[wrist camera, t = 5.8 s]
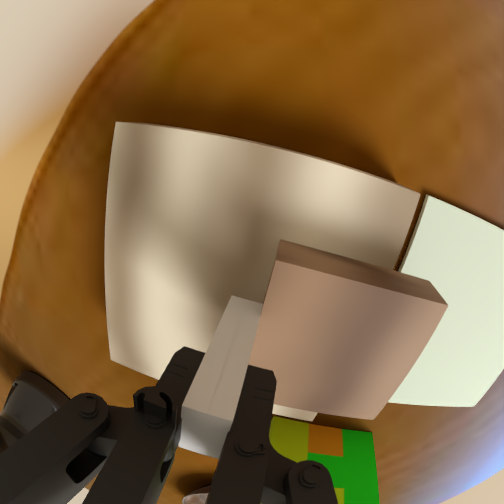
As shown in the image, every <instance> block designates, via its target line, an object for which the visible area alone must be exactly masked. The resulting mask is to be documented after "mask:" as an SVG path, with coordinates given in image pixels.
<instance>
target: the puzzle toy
mask: <svg viewBox="0 0 504 504" xmlns="http://www.w3.org/2000/svg"><path fill="white" fill-rule="evenodd" d="M269 439H270V443H271V445H272V446H273V448H274V449H275V450H276V451H277V452H278V453H279V454H281V455H283V456H284V457H286V458H289V459H291V460H293V461H295V462H297V463H298V462H300V461H304V460H313V461H316V462H319V463H321V464H323V465H324V466H325V467H326V468H327V469H328V471H329V473H330V475H331V478H332V481H333V485H334V489H335V493H336V497H337V501H338V504H379V492H378V480H377V470H376V460H375V452H374V444H373V436H372V432H363V431H354V430H347V429H339V428H333V427H327V426H321V425H315V424H309V423H304V422H299V421H294V420H290V419H285V418H281V417H276V416H274V417H273V418H272V420H271V425H270V431H269ZM260 504H261V503H260Z"/></svg>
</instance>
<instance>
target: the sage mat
mask: <svg viewBox="0 0 504 504" xmlns="http://www.w3.org/2000/svg"><path fill="white" fill-rule="evenodd" d="M398 272H401V273H404V274H408V275H411V276H415V277H418V278H422V279H425V280H428V281H430V282H431V283H432V285H433V286H434V287H435V288H436V290H437V291H438V292H439V294H440V295H441V296H442V297H443V299H444V300H445V301H446V303H447V304H448V305H449V306H448V307H447V309H446V311H445V313H444V315H443V317H442V319H441V321H440V322H439V324H438V326H437V328H436V330H435V331H434V333H433V335H432V337H431V338H430V340H429V342H428V343H427V345H426V347H425V348H424V350H423V351H422V353H421V355H420V356H419V358H418V359H417V361H416V362H415V364H414V366H413V367H412V369H411V370H410V372H409V373H408V374H407V376H406V377H405V379H404V380H403V382H402V383H401V384H400V386H399V387H398V389H397V390H396V391H395V393H394V394H393V396H392V397H391V398H390V400H389V401H388V402H391V403H402V404H414V405H429V406H456V407H474V406H475V405H476V404H477V402H478V401H479V400H480V399H481V398H482V396H483V395H484V394H485V393H486V391H487V390H488V389H489V388H490V386H491V385H492V384H493V383H494V381H495V380H496V379H497V377H498V376H499V374H500V373H501V372H502V370H503V369H504V230H502V229H500V228H498V227H497V226H495V225H493V224H491V223H489V222H487V221H485V220H483V219H481V218H478V217H476V216H474V215H472V214H470V213H468V212H466V211H464V210H461V209H459V208H457V207H455V206H453V205H450V204H448V203H446V202H443V201H441V200H439V199H436V198H434V197H432V196H429V195H427V194H426V197H425V200H424V203H423V206H422V209H421V212H420V215H419V218H418V221H417V224H416V227H415V230H414V232H413V235H412V238H411V240H410V243H409V246H408V248H407V251H406V253H405V256H404V258H403V261H402V263H401V266H400V268H399V271H398Z"/></svg>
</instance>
